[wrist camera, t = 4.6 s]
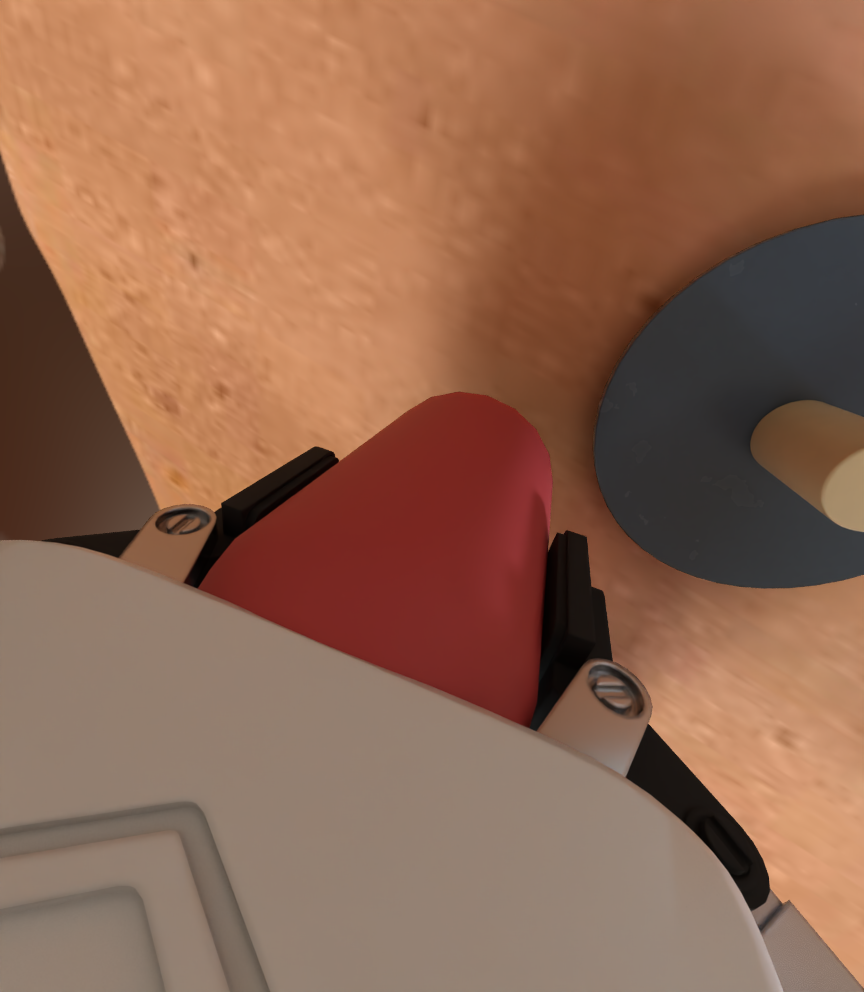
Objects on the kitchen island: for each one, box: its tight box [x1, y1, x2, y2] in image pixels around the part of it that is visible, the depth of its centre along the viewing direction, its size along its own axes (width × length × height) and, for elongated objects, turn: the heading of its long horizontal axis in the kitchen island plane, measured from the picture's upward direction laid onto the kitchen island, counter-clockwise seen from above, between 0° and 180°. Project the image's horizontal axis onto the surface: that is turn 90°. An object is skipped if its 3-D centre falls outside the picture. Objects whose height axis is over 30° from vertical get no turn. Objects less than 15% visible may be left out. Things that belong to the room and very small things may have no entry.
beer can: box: [198, 392, 553, 728], centre depth 11 cm, size 7×7×12 cm
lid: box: [593, 215, 864, 588], centre depth 12 cm, size 13×13×6 cm
